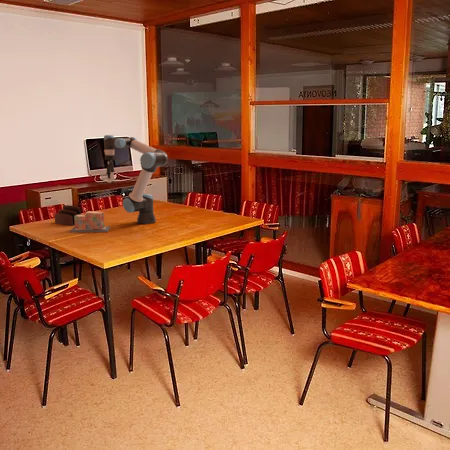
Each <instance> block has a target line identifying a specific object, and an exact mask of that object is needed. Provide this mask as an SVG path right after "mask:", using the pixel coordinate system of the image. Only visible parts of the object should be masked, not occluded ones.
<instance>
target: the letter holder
mask: <svg viewBox="0 0 450 450" xmlns="http://www.w3.org/2000/svg"><path fill="white" fill-rule="evenodd" d="M76 215H82V213H81V208H80V207H79V206H75V205H65V204H64V205H62V209H59V210H58V213H55V214H54V223H55V224H59V225H64V226H72V227H73V226H74V227H75V220H74V216H76Z"/></svg>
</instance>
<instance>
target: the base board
mask: <svg viewBox="0 0 450 450" xmlns="http://www.w3.org/2000/svg"><path fill="white" fill-rule="evenodd" d="M110 230H111V225H106V226H105V225H104V228H103V229H101V230H100V229H84V228H75V226H74V227H72V228H71V229H70V233H108V232H109V231H110Z"/></svg>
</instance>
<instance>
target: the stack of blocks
mask: <svg viewBox="0 0 450 450" xmlns="http://www.w3.org/2000/svg"><path fill="white" fill-rule="evenodd" d="M74 220H75V225H74V227H75V228H84V229H100V230H101V229H103V228H104V226H105V213H104V211H89V210H88V211H86V212H85V213H84V214H81V215H76V216H74Z"/></svg>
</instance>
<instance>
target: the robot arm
mask: <svg viewBox="0 0 450 450" xmlns="http://www.w3.org/2000/svg"><path fill="white" fill-rule="evenodd" d="M103 143H104V150H103V152H104V160H105V161H106V173H105V174H106V175H107V183H112V181H115V168H114V160H115V148H118V149H123V148H129V149H132V150H134V151H136V152H138V153H141V154H142V155H141V156H140V159H139V161H140V166H141V170H140V173H139V174H138V177H137V180H136V182H135V184H134V187H133V190H132V192H129V194H128V197H125V198H124V199H123V201H122V206H123V209H124V211H125V212H127V213H128V214H129V213H130V214H132V213H137V212H138V214H137V218H136V222H137V223H136V224H140V225H147V224H148V225H149V223H151V224H154V222H155V223H156V222H157V218H156V216H155V213H154V196H153V194H151V193H145V191H146V189H147V187H148V184H149V182H150V179H151V178H152V176H153V174H154V173H156V171H157V169H158V168H160V167H161V168H162V167H164V166H165V165H166V164H168V161H169V157H168V154H167V152H165V151H164V150H162V149H159V148H158V149H157V148H154V147H152V146H149V145H147V144H145V143H143V142H141V141H138V139H137V137H133V136H130V137H114V135H113V134H106V135H103Z"/></svg>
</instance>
